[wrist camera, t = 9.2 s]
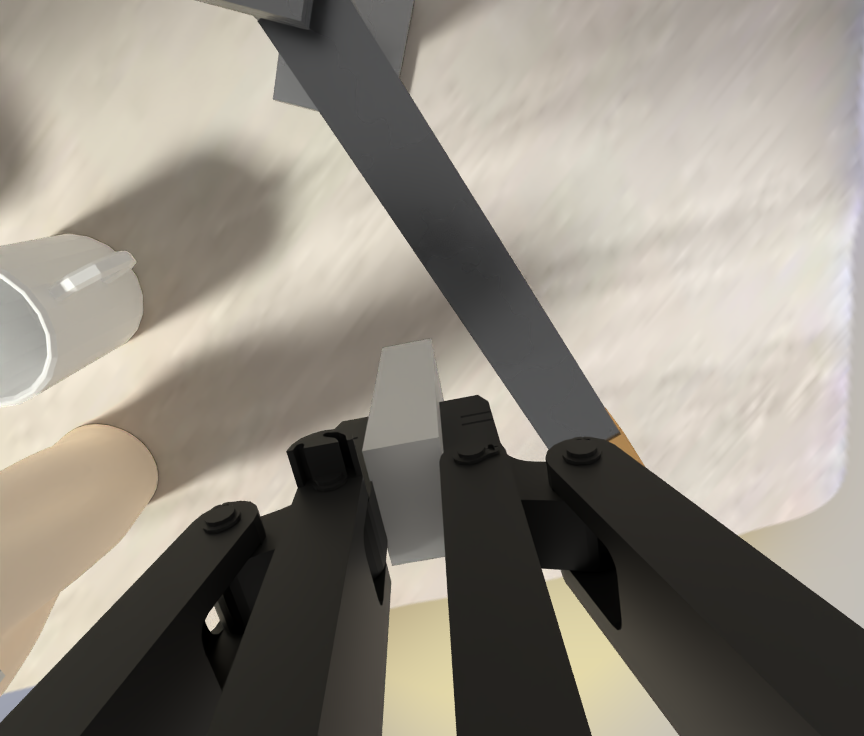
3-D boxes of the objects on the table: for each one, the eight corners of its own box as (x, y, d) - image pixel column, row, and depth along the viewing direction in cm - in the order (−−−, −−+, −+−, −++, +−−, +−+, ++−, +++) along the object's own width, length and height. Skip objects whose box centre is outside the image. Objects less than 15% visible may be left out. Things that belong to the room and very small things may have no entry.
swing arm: (274, 38, 17) (253, 22, 15) (341, -16, 17) (329, -42, 15) (571, 478, 23) (585, 509, 21) (629, 445, 22) (649, 474, 20)
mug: (216, 293, 38) (149, 334, 29) (75, 370, 40) (-31, 432, 31) (143, 181, 36) (43, 187, 26) (-4, 269, 38) (-145, 303, 28)
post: (276, 101, 34) (45, 1, 14) (293, -32, 32) (46, -396, 11) (389, 129, 35) (334, 76, 14) (414, 0, 33) (392, -288, 12)
